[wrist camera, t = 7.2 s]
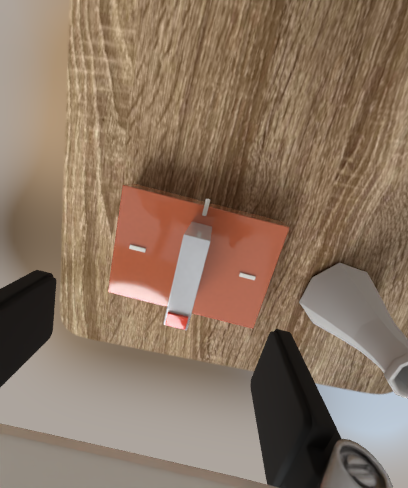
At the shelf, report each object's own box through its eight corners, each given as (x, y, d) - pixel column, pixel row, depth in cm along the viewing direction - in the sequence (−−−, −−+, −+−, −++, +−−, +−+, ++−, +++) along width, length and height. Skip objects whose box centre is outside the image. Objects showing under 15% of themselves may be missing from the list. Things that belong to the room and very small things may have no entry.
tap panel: (119, 283, 25) (105, 298, 22) (136, 177, 22) (122, 177, 18) (247, 316, 25) (251, 335, 22) (282, 214, 22) (293, 220, 19)
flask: (391, 292, 23) (514, 374, 13) (336, 339, 25) (410, 441, 15) (338, 249, 22) (429, 304, 13) (285, 301, 24) (329, 384, 14)
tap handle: (191, 221, 19) (183, 235, 15) (212, 226, 19) (210, 241, 15) (174, 294, 21) (162, 326, 17) (193, 299, 21) (186, 333, 17)
